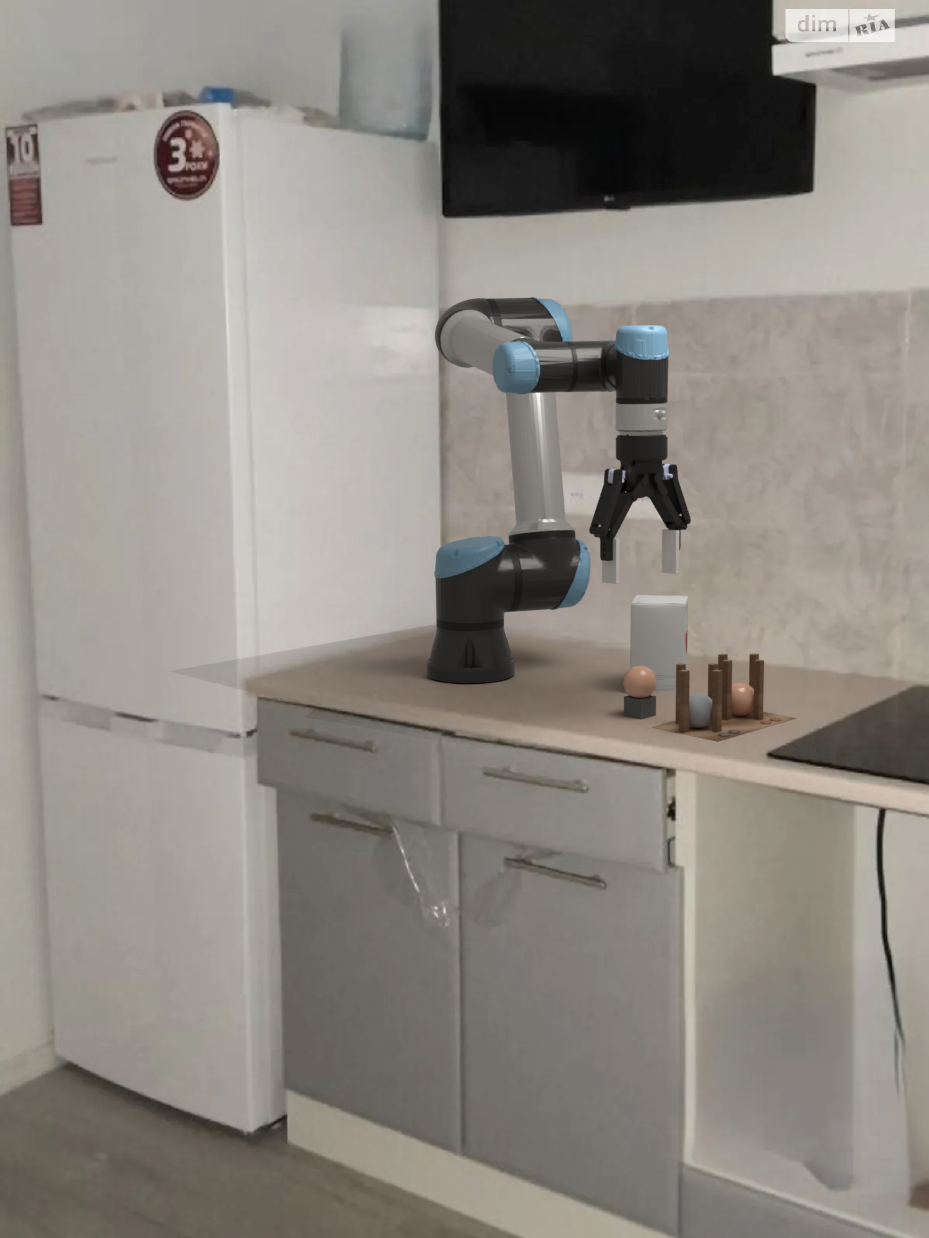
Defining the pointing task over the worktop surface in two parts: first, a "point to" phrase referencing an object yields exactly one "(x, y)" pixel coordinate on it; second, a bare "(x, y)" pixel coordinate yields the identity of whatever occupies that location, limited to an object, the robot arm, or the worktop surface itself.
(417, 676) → the worktop surface
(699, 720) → the ball
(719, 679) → the rack
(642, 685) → the ball loose
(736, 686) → the ball
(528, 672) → the worktop surface
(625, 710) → the stand
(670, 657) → the supplement box
